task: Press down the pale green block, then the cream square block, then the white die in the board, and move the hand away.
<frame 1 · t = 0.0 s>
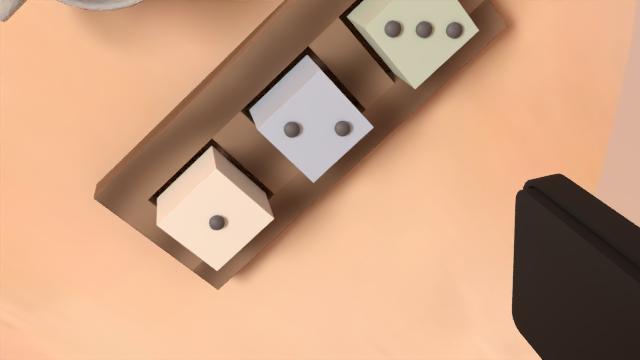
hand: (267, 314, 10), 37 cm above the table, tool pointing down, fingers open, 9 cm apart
white die 2: (310, 119, 44), point 5 cm above the table, slide at 0.0 cm
pale green block 3: (412, 23, 43), point 5 cm above the table, slide at 0.0 cm
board: (298, 100, 48), on the table
cream square block 1: (214, 209, 45), point 5 cm above the table, slide at 0.0 cm
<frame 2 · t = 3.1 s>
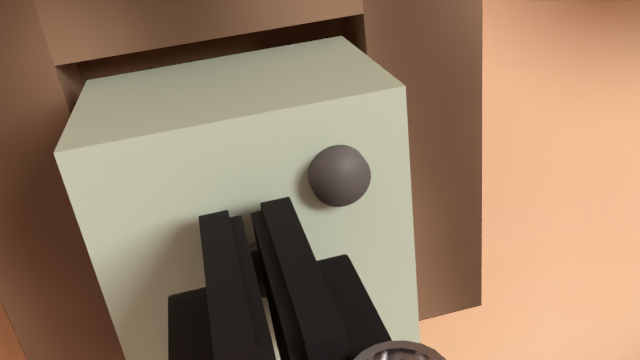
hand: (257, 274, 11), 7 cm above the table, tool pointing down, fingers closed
pale green block 3: (252, 214, 13), point 5 cm above the table, slide at 0.0 cm, touching gripper
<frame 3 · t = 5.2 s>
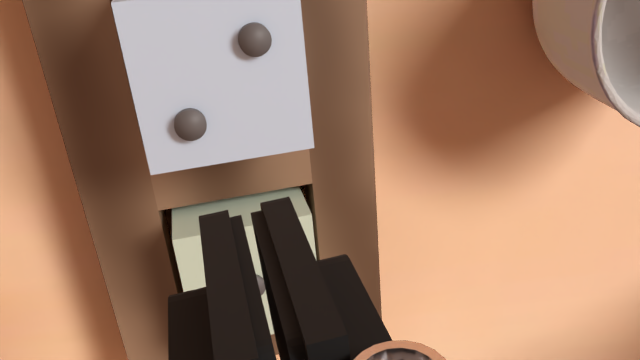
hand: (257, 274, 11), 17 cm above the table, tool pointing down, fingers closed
white die 2: (217, 67, 22), point 5 cm above the table, slide at 0.0 cm
pale green block 3: (247, 260, 29), point 2 cm above the table, slide at 2.2 cm
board: (210, 41, 26), on the table
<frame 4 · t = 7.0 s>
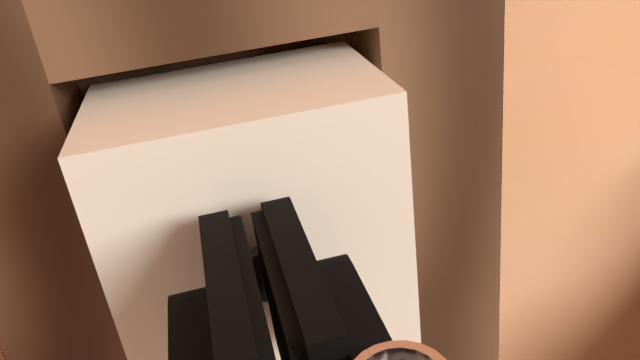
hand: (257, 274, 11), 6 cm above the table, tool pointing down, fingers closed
cream square block 1: (254, 218, 13), point 3 cm above the table, slide at 1.1 cm, touching gripper
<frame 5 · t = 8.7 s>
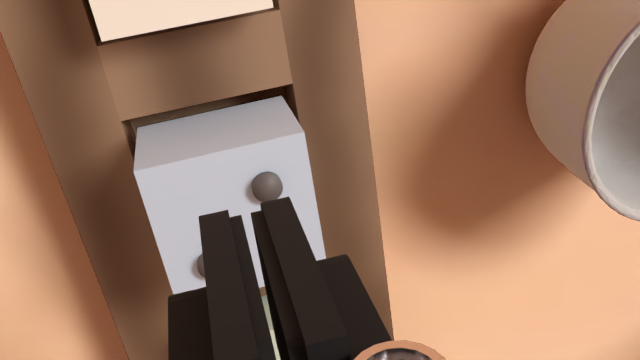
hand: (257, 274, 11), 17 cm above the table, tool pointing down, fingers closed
white die 2: (232, 199, 24), point 5 cm above the table, slide at 0.0 cm
pale green block 3: (269, 351, 30), point 2 cm above the table, slide at 2.2 cm
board: (221, 156, 28), on the table
teacup: (594, 29, 30), on the table
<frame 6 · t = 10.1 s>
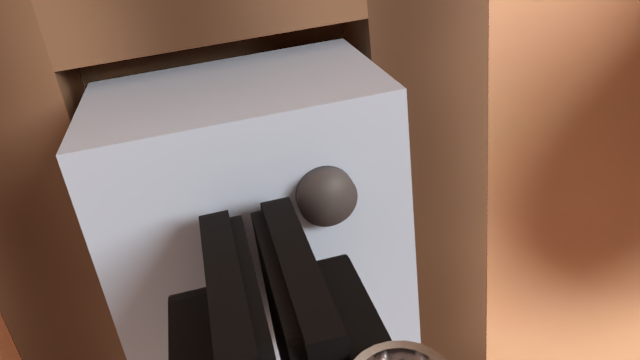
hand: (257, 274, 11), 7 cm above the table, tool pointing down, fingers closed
white die 2: (253, 216, 13), point 4 cm above the table, slide at 0.3 cm, touching gripper
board: (235, 147, 17), on the table
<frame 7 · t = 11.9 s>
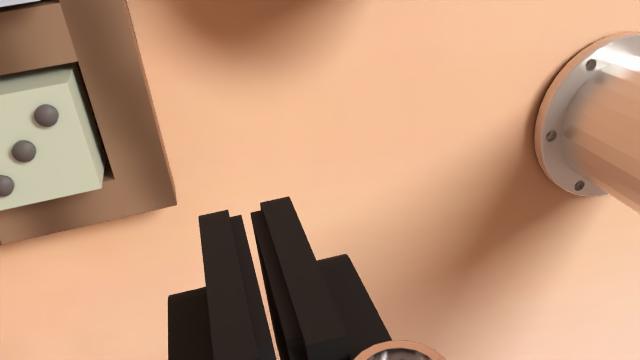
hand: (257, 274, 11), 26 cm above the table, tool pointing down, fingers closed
pale green block 3: (31, 135, 32), point 2 cm above the table, slide at 2.2 cm
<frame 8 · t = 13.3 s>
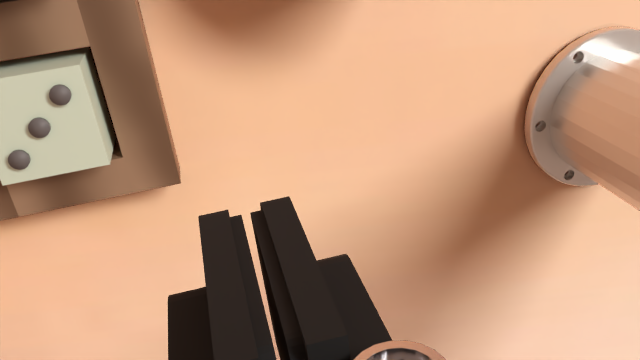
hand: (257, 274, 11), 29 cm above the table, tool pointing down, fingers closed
pale green block 3: (46, 115, 35), point 2 cm above the table, slide at 2.2 cm
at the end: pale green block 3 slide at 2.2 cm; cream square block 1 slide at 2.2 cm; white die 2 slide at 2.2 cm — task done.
